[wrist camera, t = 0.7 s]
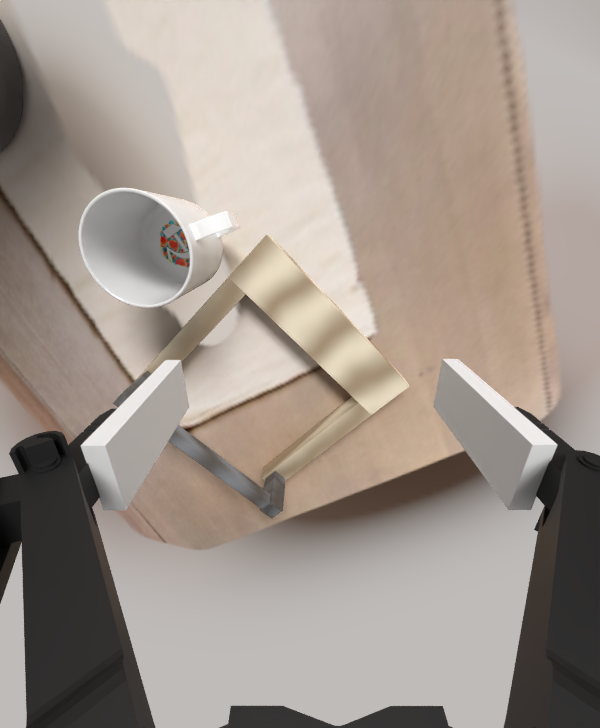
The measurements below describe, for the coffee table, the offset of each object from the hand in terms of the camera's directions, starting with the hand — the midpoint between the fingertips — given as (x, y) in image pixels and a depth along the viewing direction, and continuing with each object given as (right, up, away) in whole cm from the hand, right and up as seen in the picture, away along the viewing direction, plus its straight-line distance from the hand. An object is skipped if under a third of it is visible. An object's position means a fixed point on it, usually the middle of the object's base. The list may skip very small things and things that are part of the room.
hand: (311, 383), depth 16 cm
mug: (-12, +15, +19) cm, 27 cm away
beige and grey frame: (-4, 0, +25) cm, 25 cm away
